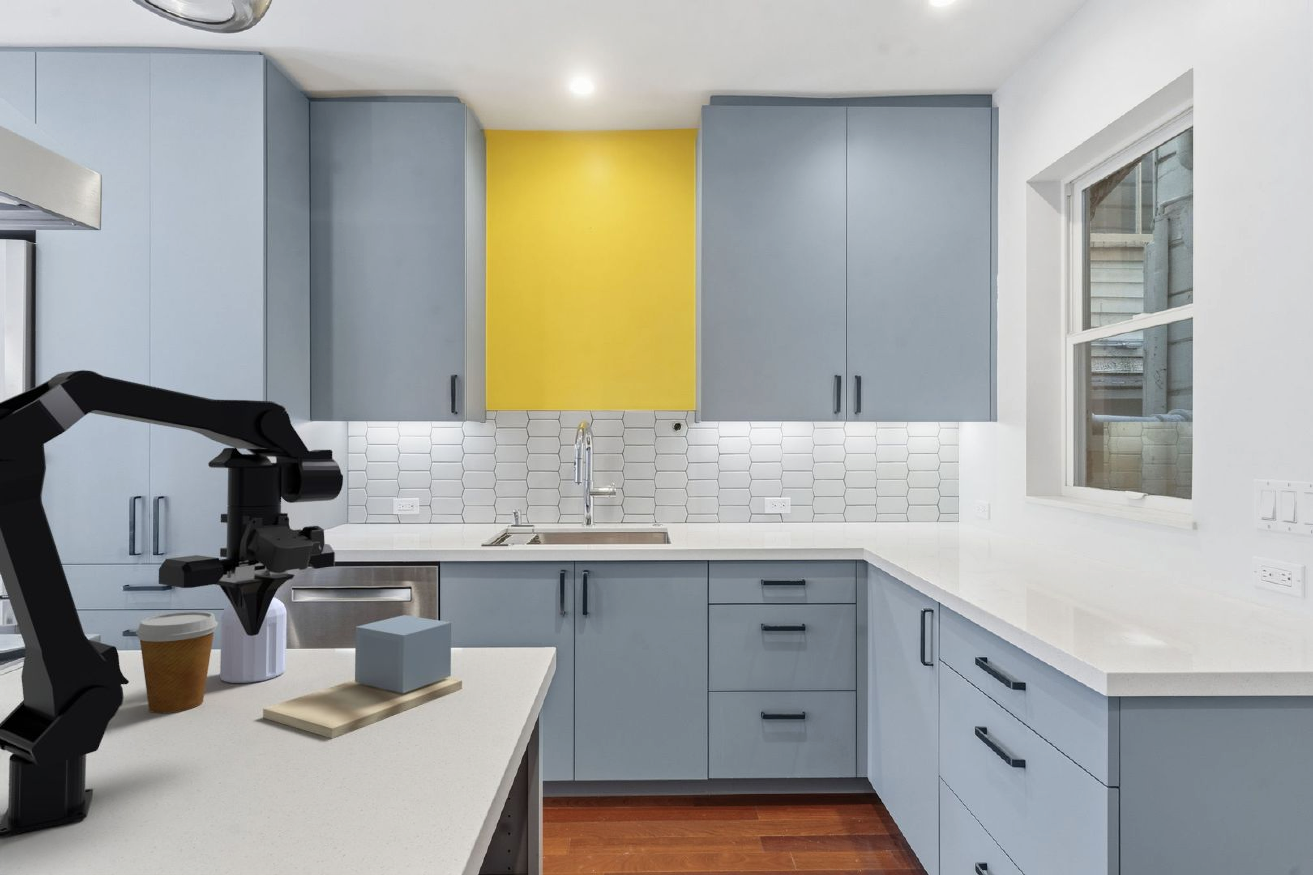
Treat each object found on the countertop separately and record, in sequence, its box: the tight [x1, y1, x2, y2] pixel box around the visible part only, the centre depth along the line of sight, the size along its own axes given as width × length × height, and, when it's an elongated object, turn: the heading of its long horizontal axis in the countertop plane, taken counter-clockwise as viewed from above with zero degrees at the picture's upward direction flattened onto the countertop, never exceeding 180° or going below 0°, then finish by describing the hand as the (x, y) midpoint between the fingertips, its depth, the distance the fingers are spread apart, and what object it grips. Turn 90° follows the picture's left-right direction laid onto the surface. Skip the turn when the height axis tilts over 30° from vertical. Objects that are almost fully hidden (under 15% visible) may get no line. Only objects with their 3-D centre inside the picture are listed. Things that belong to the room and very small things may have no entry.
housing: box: [354, 614, 452, 693], centre depth 108 cm, size 9×10×8 cm
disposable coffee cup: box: [135, 611, 219, 714], centre depth 101 cm, size 10×10×12 cm
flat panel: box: [262, 677, 463, 739], centre depth 103 cm, size 22×14×5 cm, turn 151°
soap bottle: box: [219, 596, 288, 684], centre depth 115 cm, size 9×9×25 cm
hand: (252, 634), depth 88 cm, fingers closed
